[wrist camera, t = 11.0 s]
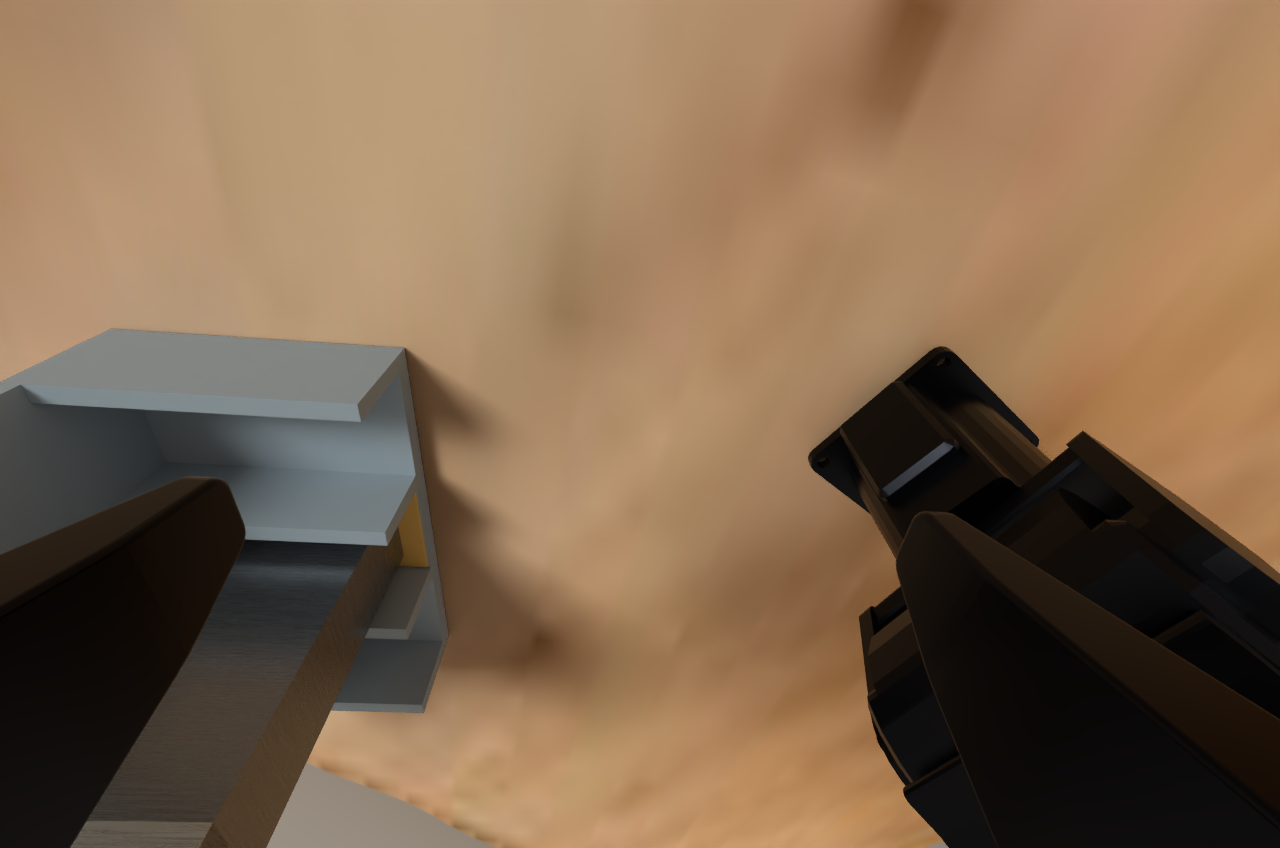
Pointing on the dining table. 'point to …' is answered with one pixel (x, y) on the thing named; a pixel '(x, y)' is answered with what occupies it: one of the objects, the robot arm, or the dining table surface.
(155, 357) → the rack
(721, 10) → the dining table surface
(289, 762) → the grey rectangular block
